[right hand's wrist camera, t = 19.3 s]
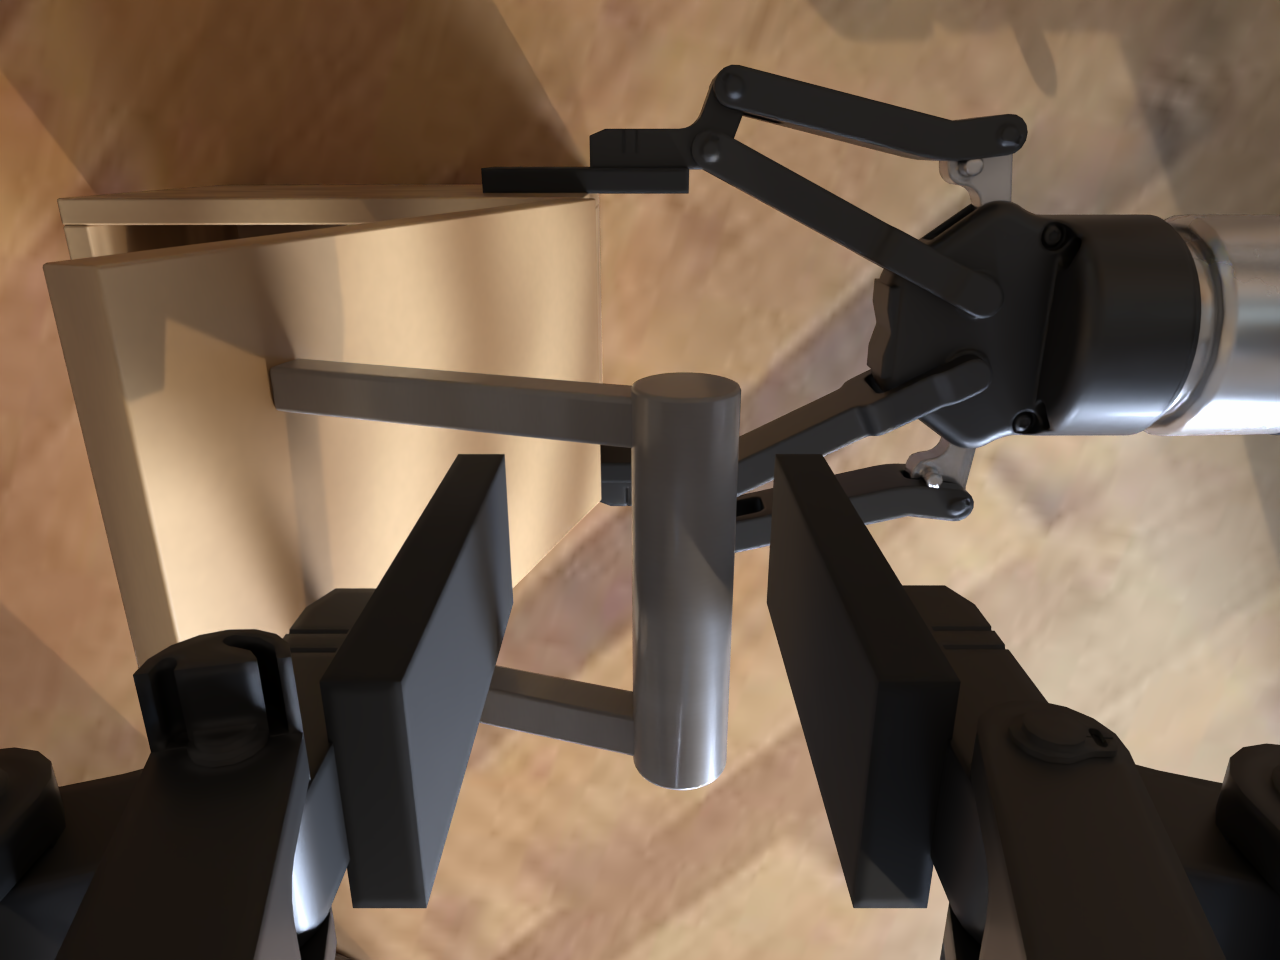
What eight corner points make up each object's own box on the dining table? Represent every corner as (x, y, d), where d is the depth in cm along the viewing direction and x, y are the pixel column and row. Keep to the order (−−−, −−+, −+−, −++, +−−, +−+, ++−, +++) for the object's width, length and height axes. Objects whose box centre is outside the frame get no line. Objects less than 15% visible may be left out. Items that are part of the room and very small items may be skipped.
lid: (182, 859, 14) (671, 1007, 11) (39, 262, 10) (681, 293, 8) (575, 497, 28) (828, 528, 25) (566, 197, 25) (854, 202, 22)
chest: (256, 405, 38) (123, 493, 28) (220, 184, 35) (55, 198, 25) (603, 404, 38) (589, 493, 28) (599, 184, 35) (582, 197, 25)
